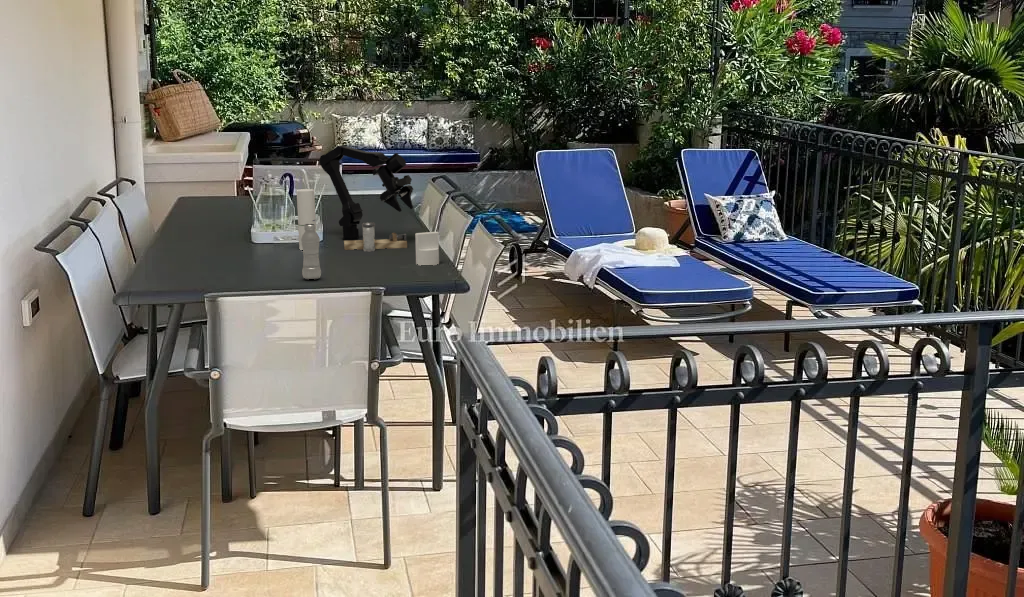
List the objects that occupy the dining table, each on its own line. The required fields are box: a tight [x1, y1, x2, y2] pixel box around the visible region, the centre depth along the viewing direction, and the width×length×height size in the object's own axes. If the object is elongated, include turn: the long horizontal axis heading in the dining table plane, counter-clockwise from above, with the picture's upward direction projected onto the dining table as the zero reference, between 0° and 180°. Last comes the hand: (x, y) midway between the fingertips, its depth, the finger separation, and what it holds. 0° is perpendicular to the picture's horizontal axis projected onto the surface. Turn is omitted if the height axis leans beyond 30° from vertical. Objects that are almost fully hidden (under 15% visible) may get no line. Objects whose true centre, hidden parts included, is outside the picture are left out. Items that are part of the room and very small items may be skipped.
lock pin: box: [388, 233, 407, 241], centre depth 429 cm, size 7×2×2 cm, turn 101°
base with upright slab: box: [414, 231, 440, 266], centre depth 392 cm, size 9×9×12 cm
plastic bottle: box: [301, 224, 322, 280], centre depth 363 cm, size 6×7×20 cm
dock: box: [343, 232, 408, 251], centre depth 428 cm, size 26×8×6 cm, turn 101°
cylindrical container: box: [296, 188, 317, 251], centre depth 419 cm, size 7×7×25 cm
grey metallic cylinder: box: [361, 221, 376, 253], centre depth 419 cm, size 5×5×12 cm
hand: (406, 210), depth 432 cm, fingers open, 9 cm apart
